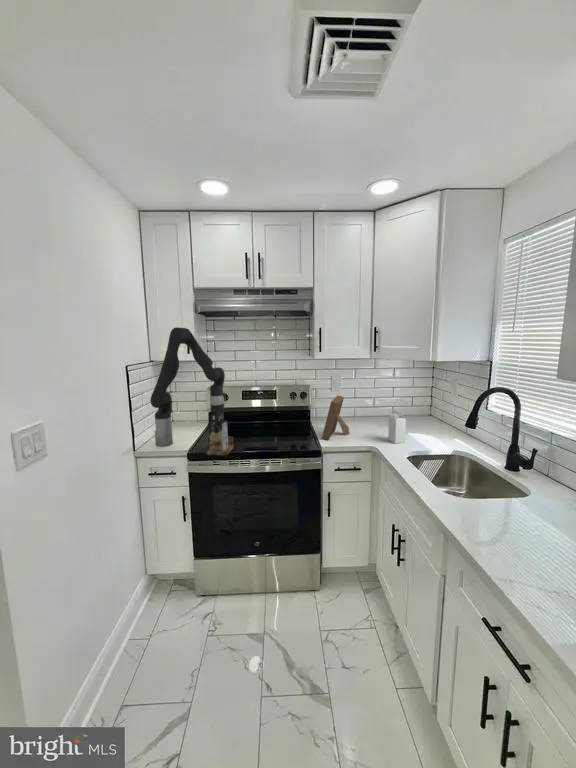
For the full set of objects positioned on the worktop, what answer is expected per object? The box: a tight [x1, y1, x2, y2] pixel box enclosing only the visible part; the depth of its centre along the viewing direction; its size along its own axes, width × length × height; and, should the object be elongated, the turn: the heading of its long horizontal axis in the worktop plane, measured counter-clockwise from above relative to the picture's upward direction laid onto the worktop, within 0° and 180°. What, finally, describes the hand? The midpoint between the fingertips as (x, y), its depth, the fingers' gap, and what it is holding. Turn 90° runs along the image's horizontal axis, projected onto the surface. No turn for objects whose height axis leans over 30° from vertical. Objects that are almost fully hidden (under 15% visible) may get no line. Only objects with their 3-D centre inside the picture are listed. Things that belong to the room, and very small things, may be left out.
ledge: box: [206, 436, 234, 456], centre depth 188 cm, size 12×12×7 cm
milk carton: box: [387, 409, 407, 445], centre depth 197 cm, size 7×7×19 cm
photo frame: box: [321, 395, 350, 441], centre depth 211 cm, size 15×22×25 cm
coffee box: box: [208, 419, 229, 450], centre depth 186 cm, size 9×6×16 cm
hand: (218, 430), depth 186 cm, fingers open, 8 cm apart
